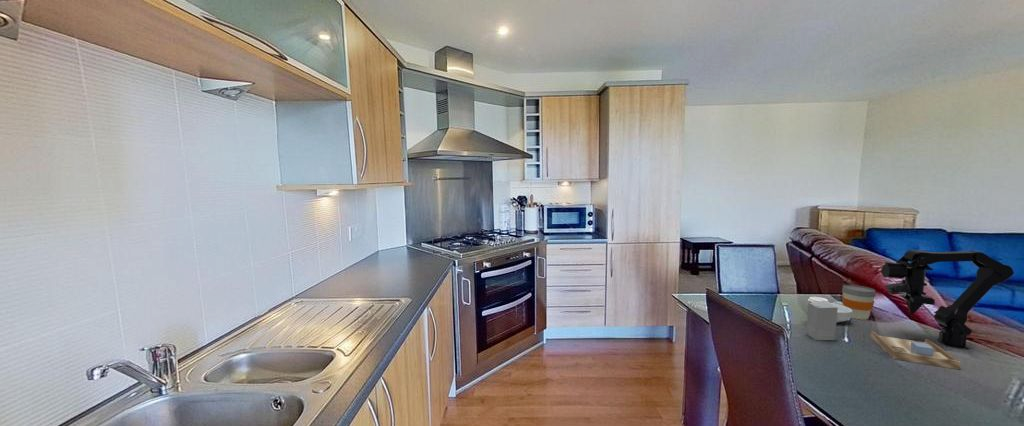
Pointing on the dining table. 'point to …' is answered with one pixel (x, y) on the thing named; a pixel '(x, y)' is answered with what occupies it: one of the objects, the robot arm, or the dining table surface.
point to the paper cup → (817, 299)
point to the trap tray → (904, 345)
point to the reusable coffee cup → (858, 300)
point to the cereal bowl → (843, 312)
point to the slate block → (921, 349)
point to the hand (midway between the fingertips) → (911, 313)
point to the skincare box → (821, 321)
